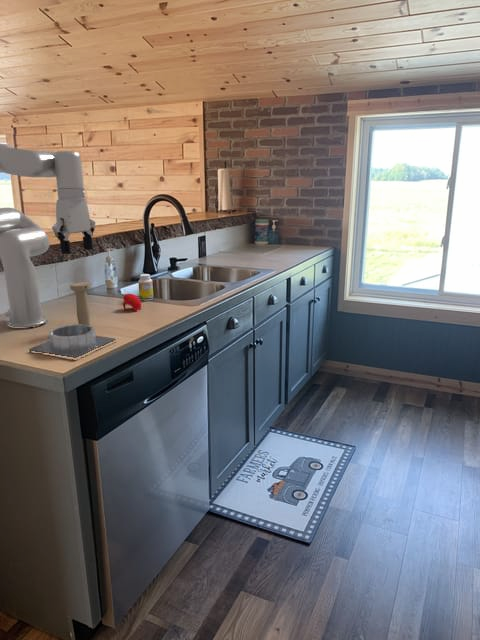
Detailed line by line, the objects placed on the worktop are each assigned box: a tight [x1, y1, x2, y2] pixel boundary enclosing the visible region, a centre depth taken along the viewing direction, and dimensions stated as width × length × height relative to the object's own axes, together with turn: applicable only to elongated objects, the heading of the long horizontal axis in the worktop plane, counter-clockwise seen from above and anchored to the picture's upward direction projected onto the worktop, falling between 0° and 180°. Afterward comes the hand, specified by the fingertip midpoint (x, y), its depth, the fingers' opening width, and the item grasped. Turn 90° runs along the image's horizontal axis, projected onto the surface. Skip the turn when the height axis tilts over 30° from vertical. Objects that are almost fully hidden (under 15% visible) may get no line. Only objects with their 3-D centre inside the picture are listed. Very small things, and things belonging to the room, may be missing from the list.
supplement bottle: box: [137, 273, 154, 302], centre depth 192 cm, size 6×6×10 cm
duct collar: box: [28, 323, 117, 358], centre depth 138 cm, size 17×17×5 cm
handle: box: [69, 281, 91, 325], centre depth 153 cm, size 5×6×15 cm
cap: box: [122, 293, 142, 312], centre depth 177 cm, size 8×6×6 cm
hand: (77, 251), depth 148 cm, fingers open, 9 cm apart
